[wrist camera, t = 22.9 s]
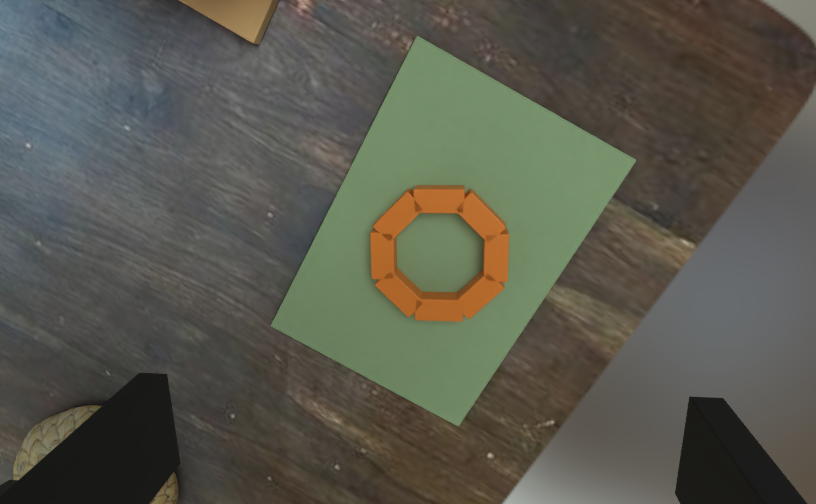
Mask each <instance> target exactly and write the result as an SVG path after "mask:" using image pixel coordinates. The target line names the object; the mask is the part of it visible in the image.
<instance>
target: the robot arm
mask: <svg viewBox="0 0 816 504" xmlns="http://www.w3.org/2000/svg"><path fill="white" fill-rule="evenodd" d="M179 464H180V459H179V452H178V445H177V438H176V432H175V425H174V418H173V411H172V405H171V398H170V391H169V384H168V378H167V374H154V373H139V374H138V375H136V376H135V377H134V378H133V379H132V380H131V381H130V382H128V383H127V384H126V385H125V386H124V387H123V388H122V389H121V390H119V391H118V392H117V393H116V394H115V395H114V396H113V397H112V398H110V399H109V400H108V401H107V402H106V403H105V404H104V405H103V406H101V407H100V408H99V409H98V410H97V411H96V412H95V413H93V414H92V415H91V416H90V417H89V418H88V419H87V420H86V421H84V422H83V423H82V424H81V425H80V426H79V427H78V428H77V429H75V430H74V431H73V432H72V433H71V434H70V435H69V436H68V437H66V438H65V439H64V440H63V441H62V442H61V443H60V444H59V445H57V446H56V447H55V448H54V449H53V450H52V451H51V452H49V453H48V454H47V455H46V456H45V457H44V458H43V459H42V460H40V461H39V462H38V463H37V464H36V465H35V466H34V467H33V468H31V469H30V470H29V471H28V472H27V473H26V474H25V475H24V476H22V477H21V478H20V479H19V480H9V481H7V482H5V483H4V484H2V485H0V504H150V503H151V501H152V500H153V499H154V497H155V496H156V495H157V493H158V492H159V491H160V489H161V488H162V487H163V486H164V484H165V483H166V482H167V480H168V479H169V478H170V476H171V475H172V474H173V472H174V471H175V470H176V468H177V467H178V466H179ZM675 494H676V496H677V498H678V500H679V502H680V504H807V503H806V502H805V500H804V499H803V498H802V497H801V495H800V494H799V493H798V492H797V490H796V489H795V488H794V486H793V485H792V484H791V483H790V481H789V480H788V479H787V478H786V476H785V475H784V474H783V473H782V471H781V470H780V469H779V468H778V466H777V465H776V464H775V463H774V461H773V460H772V459H771V458H770V456H769V455H768V454H767V453H766V451H765V450H764V449H763V448H762V446H761V445H760V444H759V443H758V441H757V440H756V439H755V438H754V436H753V435H752V434H751V433H750V431H749V430H748V429H747V428H746V426H745V425H744V424H743V423H742V421H741V420H740V419H739V418H738V416H737V415H736V414H735V413H734V411H733V410H732V409H731V408H730V406H729V405H728V404H727V402H726V401H725V400H724V399H723V398H706V397H689V403H688V410H687V417H686V423H685V430H684V437H683V443H682V450H681V457H680V464H679V470H678V477H677V484H676V491H675Z"/></svg>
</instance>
